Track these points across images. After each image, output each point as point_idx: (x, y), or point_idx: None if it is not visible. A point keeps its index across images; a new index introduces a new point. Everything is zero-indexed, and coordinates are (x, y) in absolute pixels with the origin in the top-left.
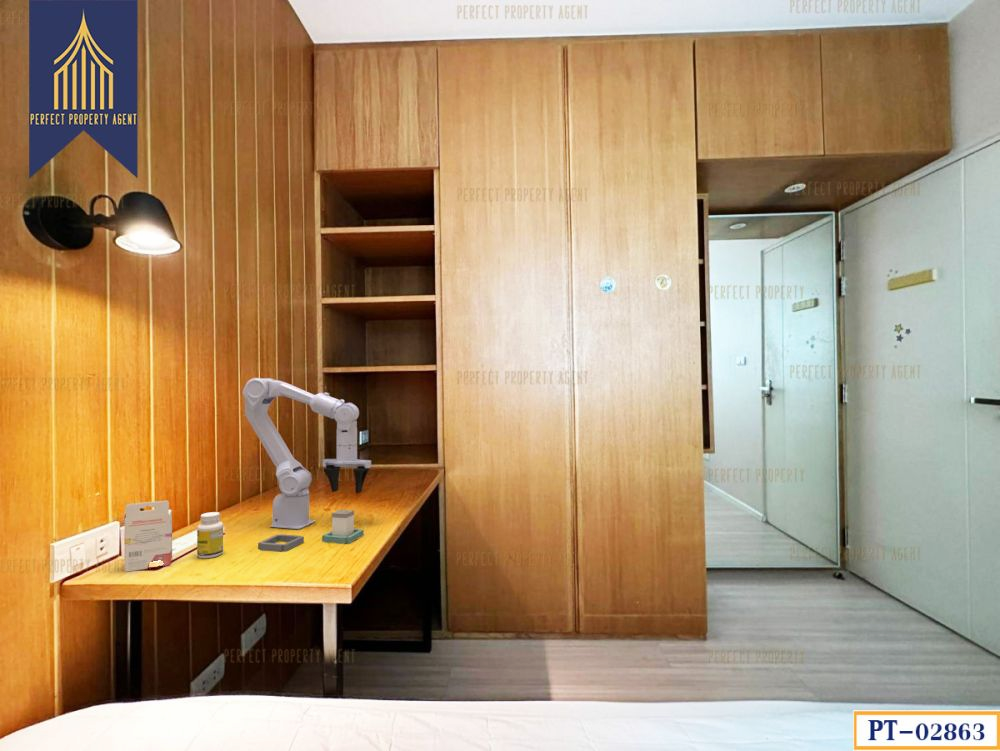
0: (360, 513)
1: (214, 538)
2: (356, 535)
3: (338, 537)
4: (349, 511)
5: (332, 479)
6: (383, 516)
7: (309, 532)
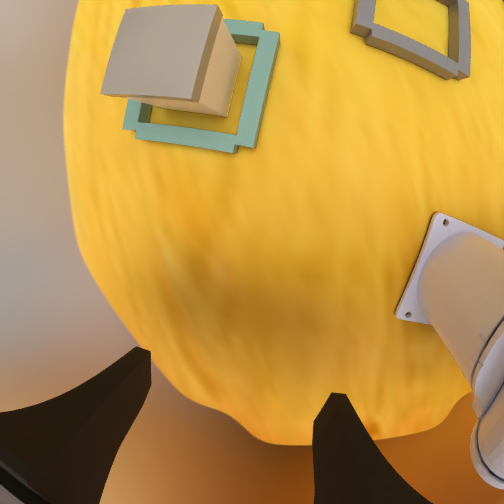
0: (254, 405)
1: None
2: None
3: None
4: (120, 65)
5: (354, 467)
6: (162, 370)
7: (385, 170)
